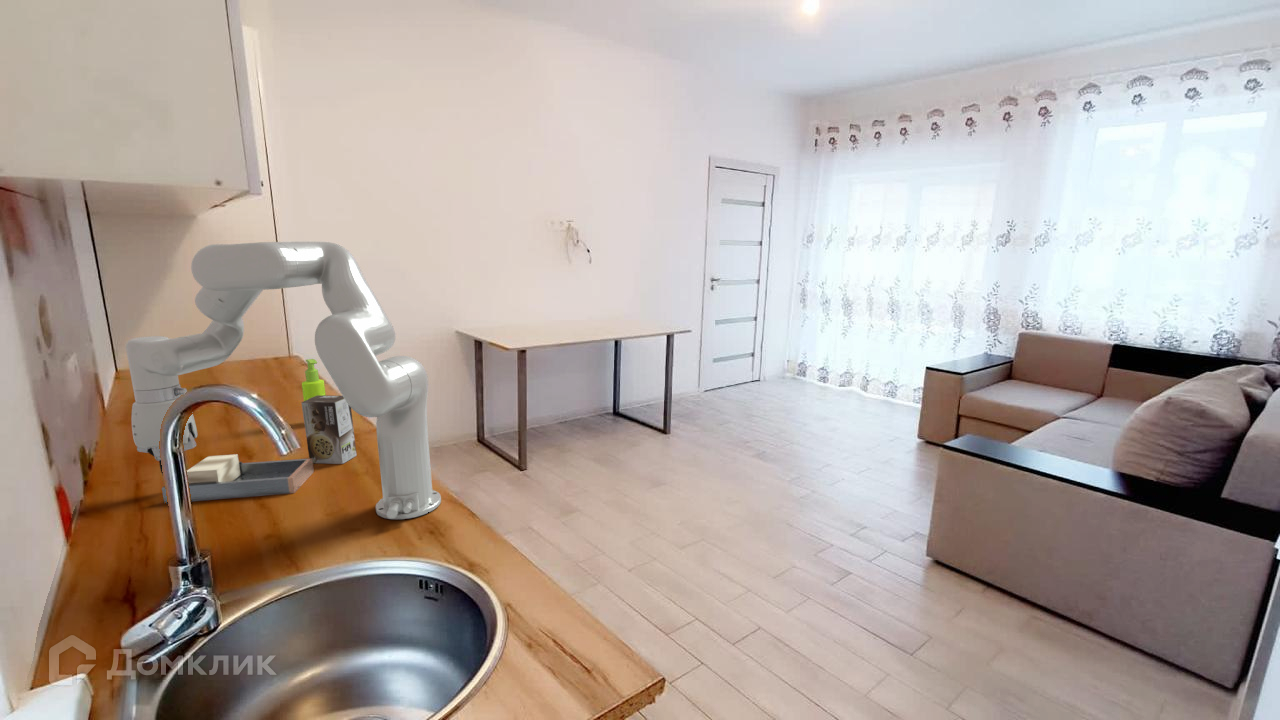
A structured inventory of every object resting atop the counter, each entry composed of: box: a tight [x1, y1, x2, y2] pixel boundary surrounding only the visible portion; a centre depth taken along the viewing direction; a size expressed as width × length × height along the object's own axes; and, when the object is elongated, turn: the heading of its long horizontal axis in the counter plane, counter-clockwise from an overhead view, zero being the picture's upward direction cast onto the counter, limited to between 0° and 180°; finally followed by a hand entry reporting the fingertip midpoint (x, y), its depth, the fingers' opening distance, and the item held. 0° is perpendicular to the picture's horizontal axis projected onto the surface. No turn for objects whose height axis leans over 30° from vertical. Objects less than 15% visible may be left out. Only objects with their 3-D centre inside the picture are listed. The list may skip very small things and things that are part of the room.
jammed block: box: [186, 453, 241, 483], centre depth 126 cm, size 9×6×5 cm, turn 12°
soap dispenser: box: [301, 358, 327, 401], centre depth 171 cm, size 6×7×20 cm
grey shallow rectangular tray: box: [161, 457, 315, 504], centre depth 127 cm, size 12×25×4 cm, turn 102°
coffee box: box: [300, 394, 357, 465], centre depth 142 cm, size 9×6×16 cm
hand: (171, 475), depth 124 cm, fingers closed
